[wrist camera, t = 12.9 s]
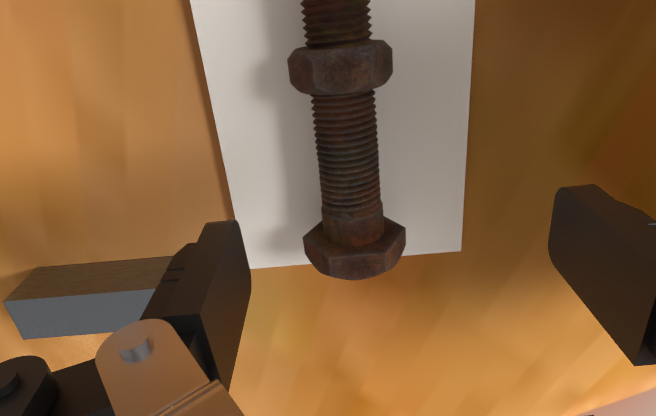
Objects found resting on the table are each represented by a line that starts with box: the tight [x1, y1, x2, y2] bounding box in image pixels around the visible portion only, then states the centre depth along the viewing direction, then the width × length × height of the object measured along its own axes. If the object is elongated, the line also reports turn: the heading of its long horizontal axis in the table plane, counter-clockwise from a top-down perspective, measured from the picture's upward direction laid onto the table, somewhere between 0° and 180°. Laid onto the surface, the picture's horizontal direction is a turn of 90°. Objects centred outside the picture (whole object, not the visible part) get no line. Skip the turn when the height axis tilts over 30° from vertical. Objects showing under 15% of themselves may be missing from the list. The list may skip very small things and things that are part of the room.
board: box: [190, 0, 475, 269], centre depth 24 cm, size 14×20×1 cm
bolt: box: [287, 0, 406, 280], centre depth 22 cm, size 6×5×15 cm
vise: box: [3, 256, 173, 340], centre depth 22 cm, size 10×30×4 cm, turn 5°
